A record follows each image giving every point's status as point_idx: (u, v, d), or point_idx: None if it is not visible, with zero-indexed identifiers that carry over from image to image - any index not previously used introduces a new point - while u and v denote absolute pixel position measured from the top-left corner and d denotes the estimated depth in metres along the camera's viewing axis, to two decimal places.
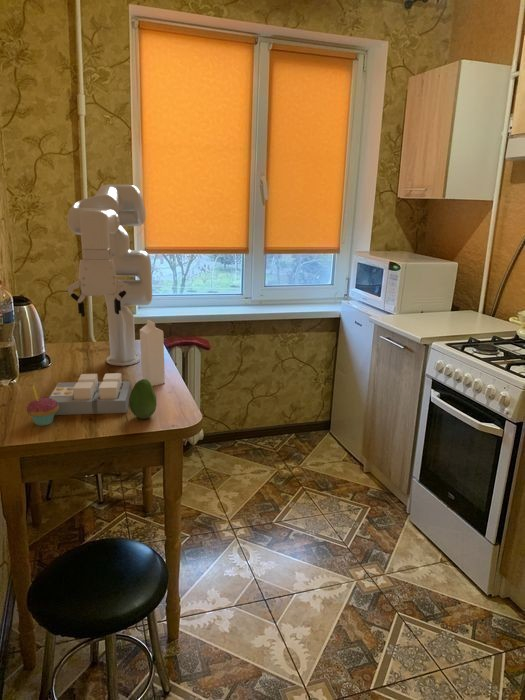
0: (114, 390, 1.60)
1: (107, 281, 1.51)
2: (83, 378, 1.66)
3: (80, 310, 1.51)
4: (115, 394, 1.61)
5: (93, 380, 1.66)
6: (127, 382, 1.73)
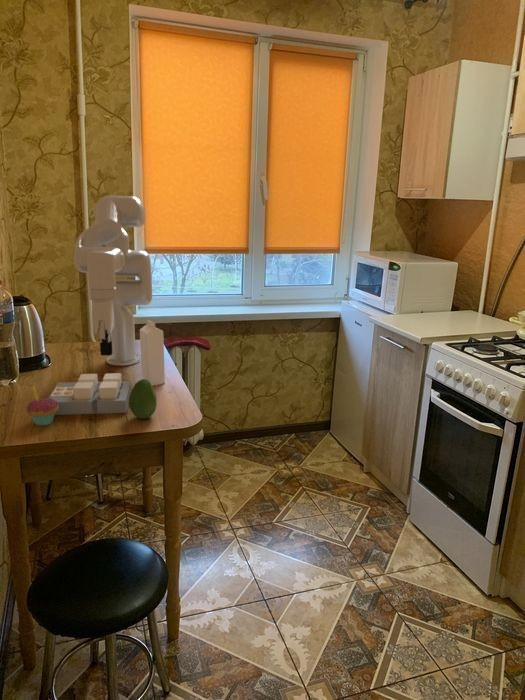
0: (114, 390, 1.60)
1: (113, 316, 1.58)
2: (83, 378, 1.66)
3: (108, 349, 1.57)
4: (115, 394, 1.61)
5: (93, 380, 1.66)
6: (127, 382, 1.73)
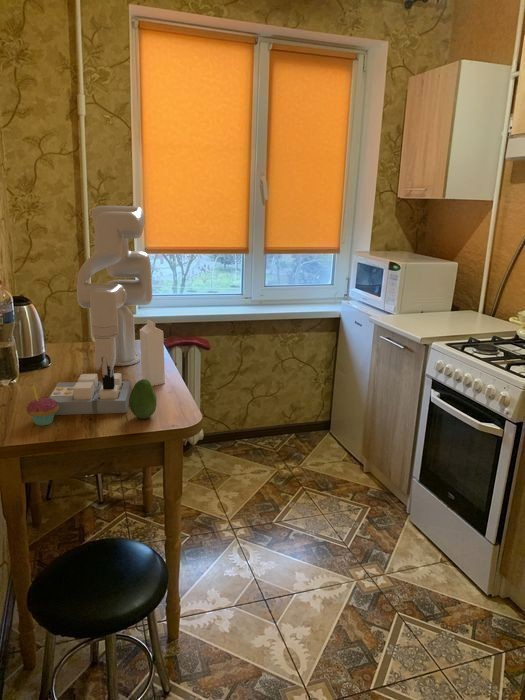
0: (114, 394, 1.60)
1: None
2: (83, 378, 1.66)
3: (110, 384, 1.61)
4: (115, 398, 1.61)
5: (93, 380, 1.66)
6: (127, 382, 1.73)
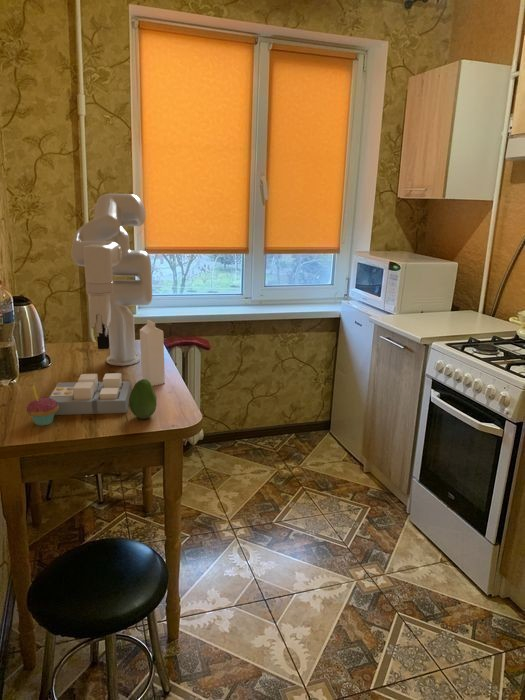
0: (114, 396, 1.61)
1: (110, 310, 1.58)
2: (83, 378, 1.66)
3: (105, 343, 1.58)
4: None
5: (93, 380, 1.66)
6: (127, 382, 1.73)
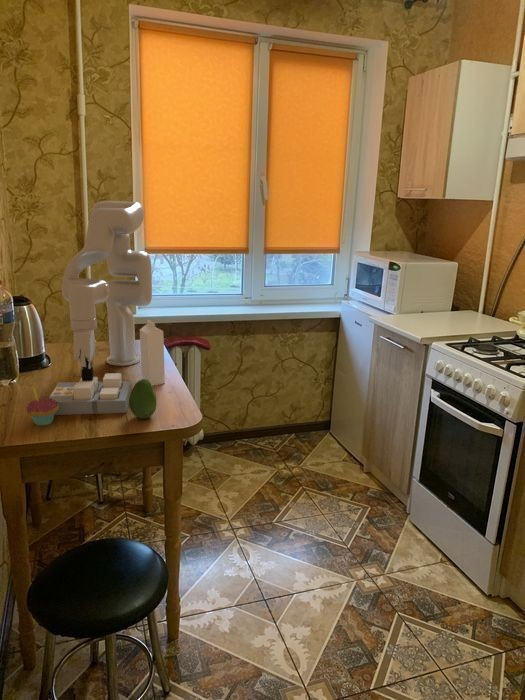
0: (114, 396, 1.61)
1: (94, 344, 1.67)
2: None
3: (89, 375, 1.67)
4: None
5: (93, 383, 1.66)
6: (127, 382, 1.73)
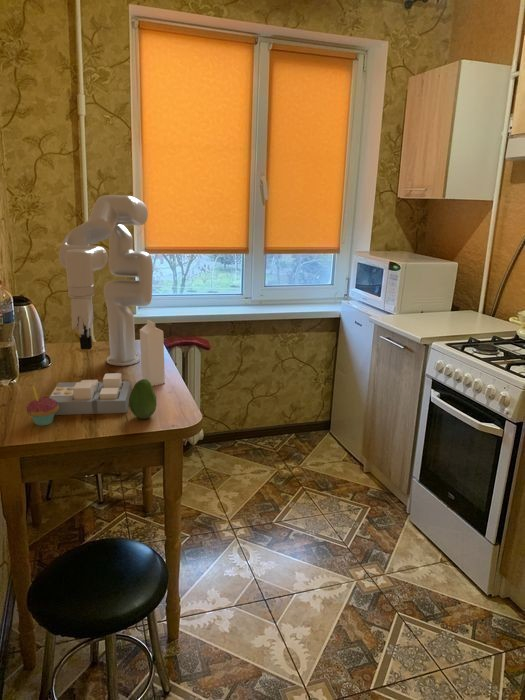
0: (114, 396, 1.61)
1: (92, 311, 1.65)
2: None
3: (87, 344, 1.64)
4: None
5: None
6: (127, 382, 1.73)
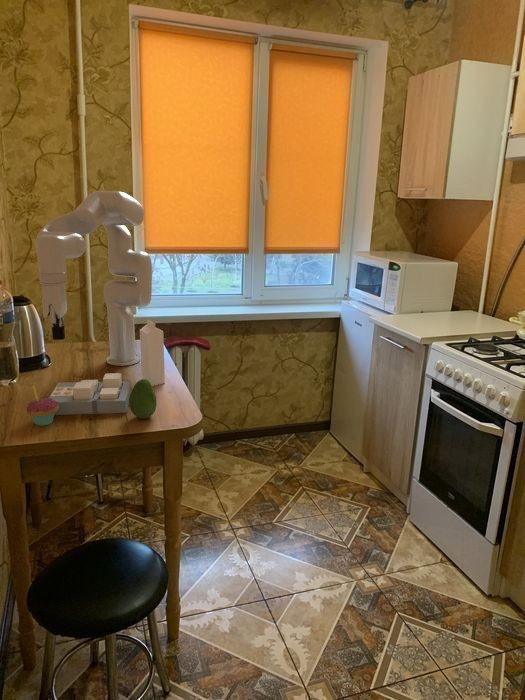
0: (114, 396, 1.61)
1: (65, 301, 1.59)
2: None
3: (60, 334, 1.58)
4: None
5: None
6: (127, 382, 1.73)
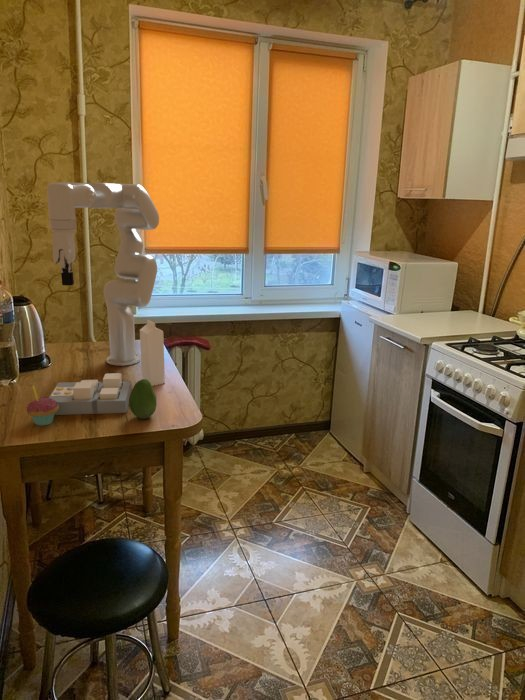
0: (114, 396, 1.61)
1: (74, 248, 1.67)
2: None
3: (69, 280, 1.66)
4: None
5: None
6: (127, 382, 1.73)
